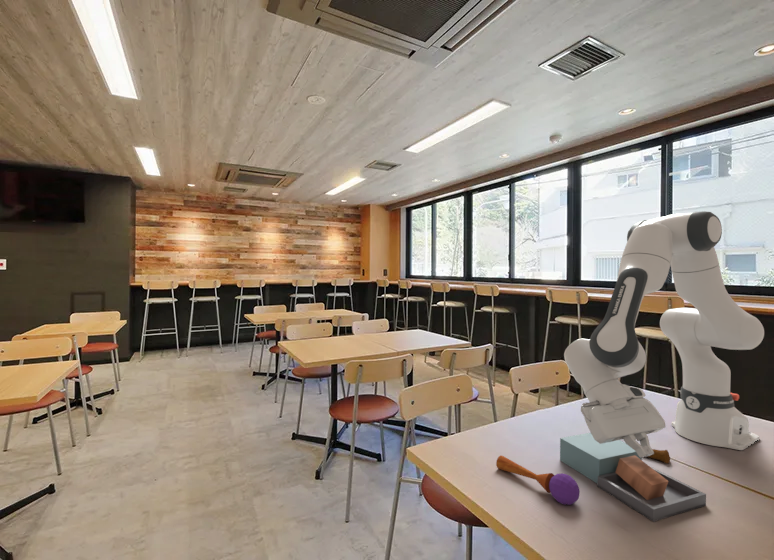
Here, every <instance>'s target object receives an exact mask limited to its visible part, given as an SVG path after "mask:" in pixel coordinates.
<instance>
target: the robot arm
mask: <svg viewBox="0 0 774 560" xmlns="http://www.w3.org/2000/svg"><path fill="white" fill-rule="evenodd" d="M721 223H722V222H721V219H720V218H719V217H718V216H717V215H716V214H715V213H713V212H712V211H705V210H704V211H703V210H702V211H700V210H699V211H693V212H685V213H684V212H682V213H674V214H673V213H672V214H668V215H666V216H659V217H656V218H652V219H644V220H641V221H639V222H636V223H634V224H632V225H631V226H630V228H629V230H628V232H627V236H626V244H625V247H624V249H623V252H622V256H621V259H620V264H619V266H618V267H619V269H618V275H617V280H616V283H615V285H614V289H613V291H612V295H611V297H610V301H609V303H608V307H607V310H606V313H605V315H604V317H603V319H602V321H600V323H599V324H598V325H597V326H596V328H594V329H593V332H592V333H591V335H590V337H589V339H588V338H582V337H581V338H578V339H576V340H573V341H572V342H570V344H569V345H567V347H566V348H565V350H564V353H563V357H564V361H565V364H566V365H567V368H568V370H569V371H570V373H571V374H572V376H573V378H574V379H575V381H576V383H578V384H579V385H580V386H581V388H582V389H583V393H584V395H585V397H586V398H587V400H588V402H583V403H582V404H581V406H580V412H581V414H582V415H583V418H584V422H585V423H586V426H587V427H588V430H589V433H591V434H592V436H593V438H594V439H595V440H596V441H597V442H598V443H600V444H602V443H607V442H612V441H617V440H621V441H622V440H623V442H625V443H626V444H627V445H628V446H630V447H631V448H632V449H634V450H635V451H636V452H637V454H638V455H639V457H641V458H642V459H643V458H647V457H646V456H650V455H652V454H654V451H653V450H652V449H653V448H652V447H651V445H650V439H649V436H648V435H649V434H655V433H657V432H660V431H661V430H663V429H665V428H666V426H667V425H666V421H665V419H664V417H663V416H662V415H661V413H660V411H659V410H658V409H657V408H656V406H655V405H654V404H653V403H652V402H651V401H650V400H649V399H648V398H646V393H645V391H644V390H643V389H641V388H640V387H635V386H630V385H628V384H624V383H621V381H620V380H619V378H623V377H626V376H630V375H634V374H636V373H638V372H640V371H641V370H642V369H643V368H644V367H645V366H646V364H647V359H648V358H647V353H646V350H645V349H644V347H643V346H642V344H641V343H640V341H639V340H638V336H637V333H636V322H637V320H638V316H639V312H640V309H641V305H642V302H643V299H644V297H645V296H646V295H647V294H649V295H650V294H653V293H655V292H657V291H659V290H660V289H662V288H663V286H664V284H665V282H666V280H667V278H668V275H669V272H670V268H671V274H672V279H673V283H674V288H675V291H676V292H675V293H676V294H677V296H678V297H679V298H681V299H683V300H685V301H686V302H688V303H689V304H691V305H692V306H693V307H675V308H669V309H666V310H665V311H664V312H663V314H662V315H661V317H660V320H659V328H660V330H661V332H662V333H663V335H665V336H666V338H668V339H669V340H670V341H671V342H672V344H673V345H674V347H675V348H676V350H677V352H678V354H679V357H680V360H681V366H682V367H681V368H682V386H681V387H680V391H679V392H680V399H681V400H679V401H678V402H677V404H676V410H675V417H674V418H675V419H674V421H671V423H670V425H671V426H672V427H673V428H674V431H675V432H676V434H678V435H679V436H681V437H682V438H685V439H688V440H691V441H692V442H697V443H699V444H700V443H701V444H703V445H706V446H711V447H712V446H713V447H720V448H721V447H722V448H728V449H733V450H736V451H737V450H739V451H744V450H746V449H747V448H749V447H750V446H751V444H752V445H754V444H755V443H756V442H755V441H757V440H758V441H760V440H759V439H761V438H760V436H759V435H758V434H756V433H754V432H752V431H750V428H749V426H750V424H749V422H750V421H749V419H748V417H747V416H746V415H744V414H743V412H741V411H740V410H738V409H737V408H736V407H735V401H739V399H740V395H739V394H738V393H733V392H731V375H732V374H731V369H730V367H729V365H728V364H727V362H724V361H723V360H721V359H720V358H718V357H717V355H715V353H714V351H713V350H712V347H713V348H714V347H715V348H719V349H726V350H733V351H734V350H735V351H737V350H738V351H747V350H750V351H751V350H753V349H755V348H757V347H759V345H761V344H762V341H763V339H764V338H765V328H764V326H763V324H762V323H761V320H759V319H758V318H757V317H756V316H754V315H752V314H751V313H748V312H747V311H746V310H744V309H743V308H742V307H741V306H739V304H737V303H736V301H734V299H733V298H732V297H731V295H730V293H728V290H727V289H726V286H725V283H724V280H723V276H722V271H721V268H720V261H719V259H718V255H717V251H716V248H715V246H716V245H717V244H718V243H719V242H720V241H721V239H722V234H723V229H722V228H723V225H722V224H721ZM758 441H757V442H758ZM754 442H755V443H754ZM748 446H749V447H748Z"/></svg>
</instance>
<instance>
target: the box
mask: <svg viewBox="0 0 774 560" xmlns="http://www.w3.org/2000/svg"><path fill="white" fill-rule="evenodd" d="M650 467H651V468H652V469H654V470H655V471H656V472H657V473H659V474H660V475H661V476H663V477H664V478H665V479H666V480H668V484H667V487H666V490H665V492H664V495H663V496H661V497H657V498H653V499H650V500H646V499H645V498H644V497H643V496H642V495H641V494H639V493H638V492H637V491H636V490H635V489H634V488H633V487H631V486H630V485H629V484H628V483H627V482H626V481H624V480H623V479H622V478H621V477H620V476H619V475H618V474H616V473H615V472H613V473H609V474H604V475H600V476H598V484H597V488H599V489H601V490H602V491H603V492H606V493H607V494H608V495H610V496H612V497H613V498H615V499H617V500H618V501H620V502H621V503H622V504H624V505H626V506H627V507H629V508H631V509H632V510H634V511H635V512H638V513H639V514H640V515H642V516H643V517H645V518H646V519H648V520H650V521H651V522H657V521H661V520H665V519H667V518H670V517H673V516H674V517H675V516H676V515H680V514H682V513H687V512H689V511H692V510H696V509H699V508H702V507H706V506H707V493H705V492H703V491H701V490H699V489H697V488H694V487H692V486H690V485H688V483H687V484H686V483H685V482H682V481H680V480H678V479H677V478H674V477H673V476H670V475H669V474H666V473H665V472H662V471H661V470H659V469H656V468H654V467H652V466H650Z"/></svg>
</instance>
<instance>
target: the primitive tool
mask: <svg viewBox="0 0 774 560" xmlns="http://www.w3.org/2000/svg"><path fill="white" fill-rule="evenodd" d="M652 450H653V451H654V454H652V455H650V456H646V457H645V458H648V459H649V458H650V459H652V460H656V461H660V462H662V463H664V464H666V465H667V464H669V463H670V462H671V457H670V453H669V451H668V449H661V450H660V449H655V448H652Z"/></svg>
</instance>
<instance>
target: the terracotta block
mask: <svg viewBox="0 0 774 560" xmlns="http://www.w3.org/2000/svg"><path fill="white" fill-rule="evenodd" d="M651 467H652V466H651V465H648V464H647V463H646V462H645V461H643V459H642V460H641V459H639V458H638V457H637V456H635V455H634V456H630V457H625V458H620V459H619V463H618V466H617V469H616V472H615V473H616V474H618V475H619V476H620V477H621V478H622V479H623V480H624V481H626V482H627V483H628V484H629V485H630V486H631V487H633V488H634V489H635V490H636V491H637V492H638V493H639V494H641V495H642V496H643V497H644V498H645V499H646V500H650V499H653V498H657V497H661V496H663V495H664V492H665V490H666V487H667V484H668V480H666V479H665V478H664V477H663V476H661V475H660V474H659V473H657V472H656V471H655V470H654V469H655V468H654V469H652V468H653V467H652V468H651Z"/></svg>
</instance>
